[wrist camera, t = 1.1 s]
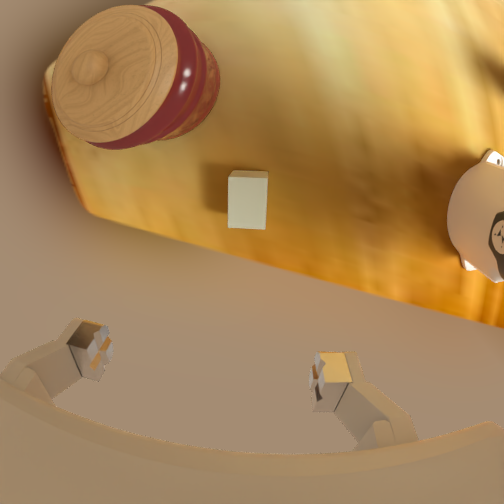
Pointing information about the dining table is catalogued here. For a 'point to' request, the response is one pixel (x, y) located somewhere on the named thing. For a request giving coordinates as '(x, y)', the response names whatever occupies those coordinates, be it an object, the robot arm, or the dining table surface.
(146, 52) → the canister
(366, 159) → the dining table surface
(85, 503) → the robot arm
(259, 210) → the sage block
